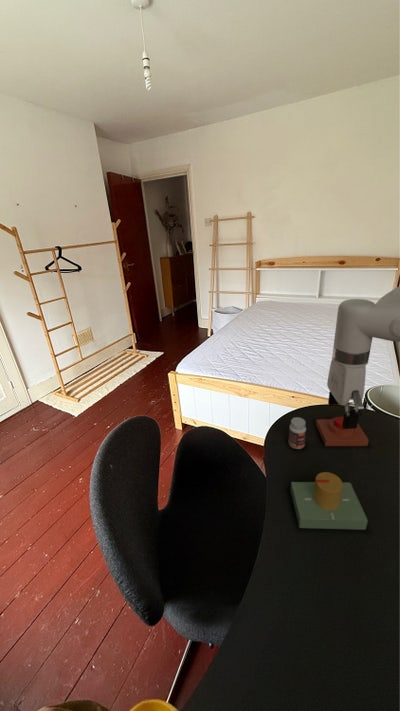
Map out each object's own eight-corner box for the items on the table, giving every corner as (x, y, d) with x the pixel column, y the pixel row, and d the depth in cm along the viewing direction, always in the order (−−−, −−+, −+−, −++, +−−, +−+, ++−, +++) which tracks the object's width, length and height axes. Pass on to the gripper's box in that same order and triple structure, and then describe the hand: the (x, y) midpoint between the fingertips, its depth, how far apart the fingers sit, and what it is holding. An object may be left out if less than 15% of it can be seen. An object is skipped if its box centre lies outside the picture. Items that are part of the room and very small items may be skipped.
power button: (346, 421, 92) (346, 416, 91) (351, 429, 88) (351, 424, 88) (332, 421, 92) (333, 416, 92) (337, 429, 89) (337, 425, 88)
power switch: (354, 424, 96) (356, 414, 94) (367, 446, 87) (369, 435, 85) (315, 424, 97) (316, 414, 95) (325, 446, 88) (326, 435, 86)
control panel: (348, 491, 73) (350, 481, 72) (365, 529, 64) (368, 519, 63) (290, 490, 75) (291, 481, 74) (299, 528, 66) (300, 518, 64)
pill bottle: (299, 451, 87) (301, 428, 83) (285, 444, 90) (286, 421, 86) (308, 443, 89) (310, 421, 86) (294, 436, 93) (295, 414, 89)
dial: (335, 489, 71) (338, 471, 68) (343, 510, 65) (347, 491, 63) (310, 489, 71) (312, 470, 69) (317, 510, 66) (319, 491, 64)
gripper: (321, 340, 76) (315, 397, 83) (348, 372, 60) (338, 439, 68) (351, 339, 75) (343, 396, 83) (387, 371, 60) (373, 438, 67)
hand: (341, 415), depth 75 cm, fingers open, 9 cm apart
